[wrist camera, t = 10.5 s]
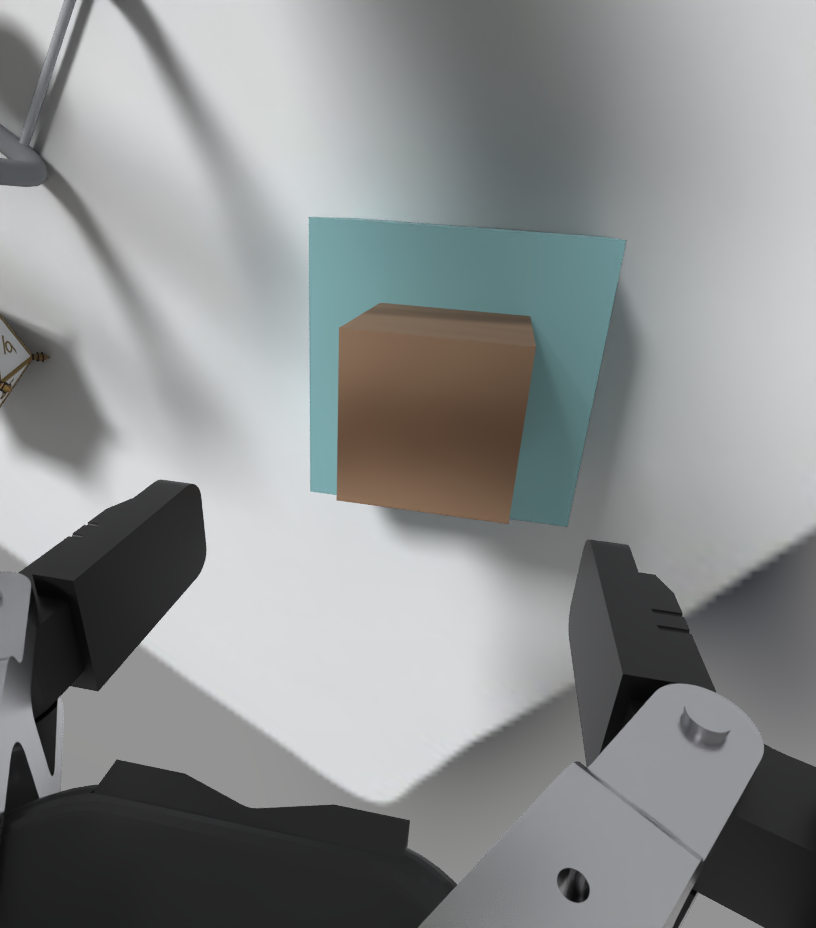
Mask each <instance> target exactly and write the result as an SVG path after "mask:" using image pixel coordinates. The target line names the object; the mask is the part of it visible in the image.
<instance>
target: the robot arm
mask: <svg viewBox="0 0 816 928" xmlns="http://www.w3.org/2000/svg"><path fill="white" fill-rule="evenodd" d="M205 558H206V539H205V530H204V520H203V510H202V500H201V493H200V490H199V488H198V487H197V486H196V485H195V484H189V483H182V482H175V481H167V480H157V481H156V482H154V483H153V484H151V485H150V486H149V487H147V488H146V489H145V490H143V491H142V492H141V493H139V494H138V495H137V496H135V497H134V498H133V499H129V500H127V501H125V502H122V503H120V504H117V505H115V506H112V507H110V508H108V509H106V510H104V511H103V512H102V513H100V514H99V515H97V516H96V517H95V518H93V519H92V520H91V521H89V522H88V525H84V526H82V527H81V528H80V529H78V530H77V531H75V532H74V533H73V535H72V537H67V538H66V539H64V540H63V541H62V542H60V543H59V544H58V545H56V546H55V547H53V548H52V549H51V550H49V551H48V552H47V553H45V554H44V555H42V556H41V557H40V558H38V559H37V560H36V561H34V562H33V563H31V564H30V565H29V566H27V567H26V568H25V569H23V570H22V571H20V572H19V573H16V572H0V928H680V927H681V925H682V923H683V921H684V919H685V917H686V915H687V914H688V912H689V910H690V908H691V906H692V904H693V902H694V901H695V899H696V897H697V895H698V893H700V894H702V895H704V896H706V897H708V898H710V899H712V900H714V901H716V902H718V903H719V904H721V905H724V906H725V907H727V908H729V909H731V910H732V911H734V912H736V913H738V914H740V915H742V916H744V917H746V918H747V919H749V920H751V921H753V922H755V923H757V924H759V925H761V926H763V927H764V928H816V767H814V766H812V765H809V764H807V763H804V762H802V761H799V760H797V759H795V758H792V757H790V756H787V755H785V754H783V753H781V752H778V751H776V750H774V749H772V748H771V747H769V746H767V745H765V744H763V739H762V737H761V734H760V732H759V730H758V728H757V727H756V725H755V724H754V722H752V720H751V719H750V718H749V717H748V715H747V714H746V713H745V712H743V711H742V710H741V709H740V708H739V707H738V706H736V705H735V704H734V703H732V702H731V701H729V700H728V699H726V698H724V697H723V696H721V695H719V694H717V693H716V691H715V688H714V686H713V684H712V681H711V679H710V677H709V675H708V672H707V670H706V667H705V665H704V663H703V660H702V658H701V656H700V653H699V651H698V649H697V646H696V644H695V642H694V639H693V637H692V635H691V634H689V628H688V625H687V623H686V621H685V618H684V617H682V611H681V609H680V607H679V604H678V602H677V600H676V597H675V595H674V593H673V592H672V591H671V590H670V589H669V588H668V587H667V586H666V585H665V584H664V583H663V582H662V581H661V580H660V579H659V578H658V577H657V576H656V575H653V574H646V573H639V572H638V570H637V567H636V564H635V561H634V558H633V556H632V553H631V550H630V548H629V546H628V545H625V544H617V543H610V542H603V541H596V540H587V541H586V543H585V546H584V549H583V553H582V558H581V562H580V567H579V571H578V575H577V580H576V584H575V589H574V593H573V598H572V602H571V607H570V614H569V640H570V648H571V655H572V662H573V670H574V677H575V684H576V692H577V699H578V706H579V714H580V721H581V728H582V735H583V743H584V750H585V757H586V765H587V768H586V767H585V766H584V765H583V764H581V763H580V762H574V763H572V764H571V765H570V766H568V767H567V768H566V769H565V770H564V771H563V772H562V773H561V774H560V775H559V776H558V777H557V778H556V779H555V780H554V781H553V783H552V784H551V785H550V786H549V787H548V788H547V789H546V790H545V791H544V792H543V793H542V794H541V795H540V797H539V798H538V799H537V800H536V801H535V802H534V803H533V804H532V805H531V806H530V807H529V808H528V809H527V810H526V812H525V813H524V814H523V815H522V816H521V817H520V818H519V819H518V820H517V821H516V822H515V823H514V824H513V826H512V827H511V828H510V829H509V830H508V831H507V832H506V833H505V834H504V835H503V836H502V837H501V838H500V839H499V841H498V842H497V843H496V844H495V845H494V846H493V847H492V848H491V849H490V850H489V852H487V854H486V855H485V856H484V857H483V858H482V859H481V860H480V861H479V862H478V863H477V864H476V865H475V867H473V869H472V870H471V871H470V872H469V873H468V874H467V875H466V876H465V877H464V878H463V879H462V880H461V882H460V883H459V884H458V885H457V884H456V883H455V882H454V881H453V880H452V879H451V878H450V877H449V876H448V875H447V874H445V873H444V872H443V871H442V870H441V869H440V868H439V867H437V866H435V864H433V863H432V862H430V861H429V860H427V859H426V858H425V857H423V856H422V855H420V854H418V853H416V852H414V851H412V850H411V849H409V848H407V843H408V833H409V824H410V820H405V819H401V818H396V817H391V816H386V815H381V814H377V813H372V812H366V811H362V810H357V809H352V808H347V807H343V806H338V805H318V806H299V807H279V808H257V809H256V808H249V807H245V806H243V805H241V804H239V803H238V802H236V801H234V800H232V799H230V798H229V797H227V796H225V795H223V794H221V793H219V792H218V791H216V790H214V789H212V788H210V787H208V786H206V785H205V784H203V783H201V782H199V781H197V780H195V779H194V778H192V777H190V776H188V775H186V774H183V773H179V772H174V771H169V770H164V769H160V768H155V767H150V766H145V765H140V764H136V763H131V762H126V761H121V760H116V761H115V763H114V764H113V766H112V767H111V768H110V770H109V771H108V772H107V774H106V775H105V777H104V778H103V780H102V781H101V782H100V783H99V785H91V786H84V787H78V788H73V789H69V790H66V791H62V792H61V780H62V748H63V746H62V745H63V715H64V711H63V710H64V709H63V703H62V699H61V695H62V694H63V693H64V692H65V691H66V689H67V688H68V687H69V686H73V687H79V688H83V689H89V690H94V691H99V690H100V689H101V688H102V686H103V685H104V684H105V683H106V682H107V681H108V679H109V678H110V677H111V676H112V675H113V674H114V672H115V671H116V670H117V669H118V668H119V667H120V666H121V664H122V663H123V662H124V661H125V660H126V659H127V658H128V656H129V655H130V654H131V653H132V652H133V651H134V649H135V648H136V647H137V646H138V645H139V644H140V643H141V641H142V640H143V639H144V638H145V637H146V636H147V635H148V633H149V632H150V631H151V630H152V629H153V628H154V626H155V625H156V624H157V623H158V622H159V621H160V620H161V618H162V617H163V616H164V615H165V614H166V613H167V611H168V610H169V609H170V608H171V607H172V606H173V605H174V603H175V602H176V601H177V600H178V599H179V598H180V596H181V595H182V594H183V593H184V592H185V591H186V590H187V588H188V587H189V586H190V585H191V584H192V583H193V581H194V580H195V579H196V578H197V577H198V575H199V574H200V572H201V570H202V568H203V565H204V562H205Z"/></svg>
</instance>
